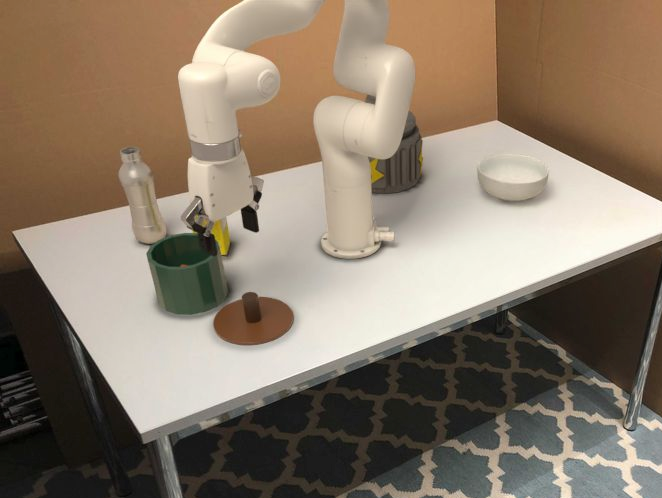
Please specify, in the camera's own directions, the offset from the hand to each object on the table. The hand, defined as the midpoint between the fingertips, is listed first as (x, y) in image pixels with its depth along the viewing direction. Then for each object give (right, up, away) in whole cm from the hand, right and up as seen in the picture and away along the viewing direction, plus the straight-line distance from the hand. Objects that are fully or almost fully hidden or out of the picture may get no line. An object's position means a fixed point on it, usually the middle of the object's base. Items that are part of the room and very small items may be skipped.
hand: (231, 241), depth 131 cm
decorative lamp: (+20, +24, +59) cm, 66 cm away
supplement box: (-12, +2, +29) cm, 32 cm away
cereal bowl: (+51, +19, +54) cm, 77 cm away
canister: (-12, -8, +16) cm, 22 cm away
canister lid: (+1, -13, +10) cm, 16 cm away
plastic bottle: (-26, +5, +32) cm, 41 cm away
